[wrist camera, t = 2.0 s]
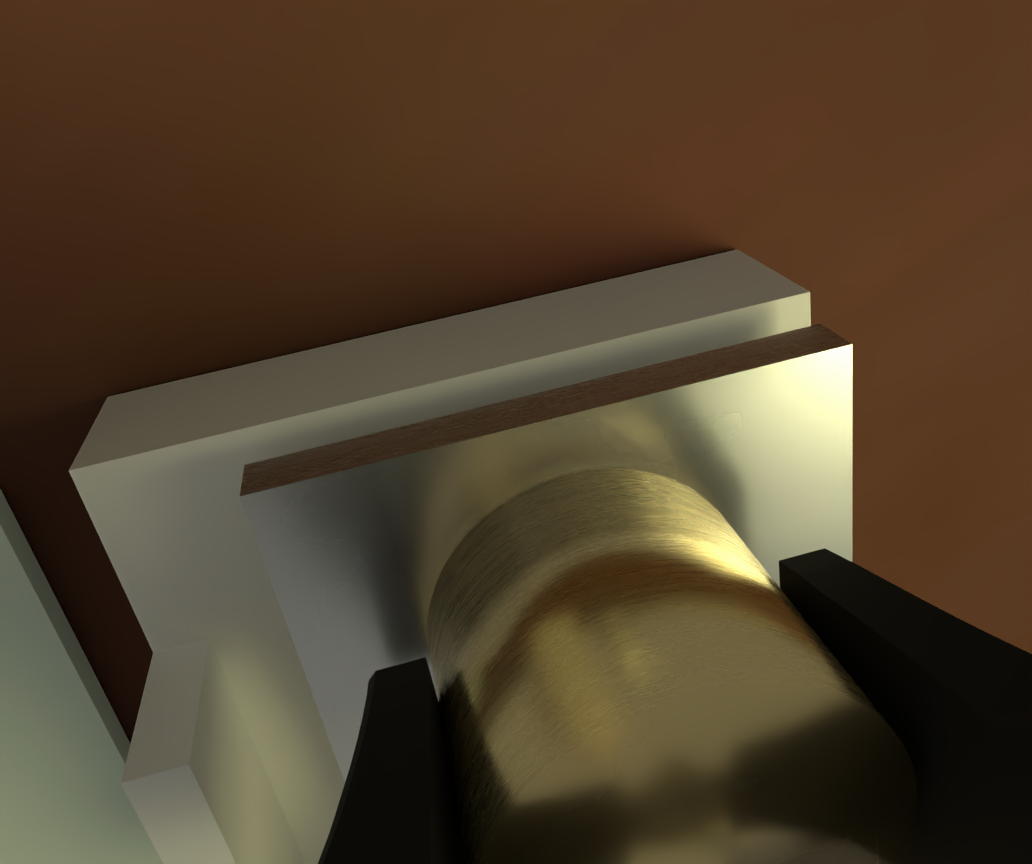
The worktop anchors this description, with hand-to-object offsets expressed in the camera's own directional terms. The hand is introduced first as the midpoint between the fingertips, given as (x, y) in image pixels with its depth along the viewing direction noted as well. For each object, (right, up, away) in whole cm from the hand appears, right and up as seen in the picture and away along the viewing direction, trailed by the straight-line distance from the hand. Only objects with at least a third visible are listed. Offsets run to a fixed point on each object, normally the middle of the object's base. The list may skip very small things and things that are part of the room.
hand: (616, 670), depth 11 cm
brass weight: (0, +1, +1) cm, 1 cm away
